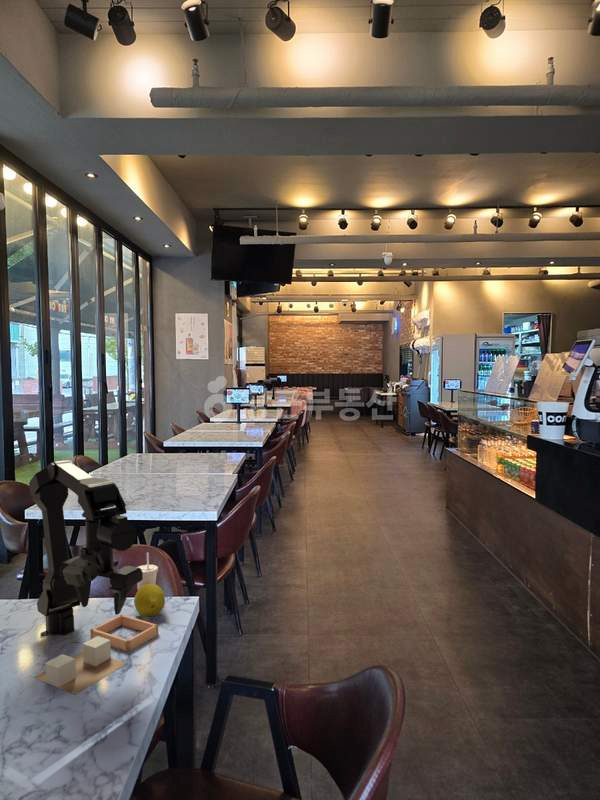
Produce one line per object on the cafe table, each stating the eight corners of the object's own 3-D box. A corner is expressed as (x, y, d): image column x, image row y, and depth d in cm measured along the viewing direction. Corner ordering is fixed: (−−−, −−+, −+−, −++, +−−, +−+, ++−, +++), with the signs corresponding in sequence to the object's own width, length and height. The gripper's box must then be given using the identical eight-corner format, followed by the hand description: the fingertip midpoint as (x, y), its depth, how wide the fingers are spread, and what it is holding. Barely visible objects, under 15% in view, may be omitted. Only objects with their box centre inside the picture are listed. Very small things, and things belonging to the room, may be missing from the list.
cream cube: (83, 661, 117) (82, 643, 117) (98, 653, 121) (97, 635, 121) (95, 666, 115) (95, 648, 115) (110, 657, 119) (110, 639, 119)
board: (33, 681, 111) (33, 677, 111) (86, 653, 123) (86, 649, 123) (75, 699, 105) (75, 694, 105) (127, 668, 116) (126, 663, 116)
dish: (90, 643, 128) (90, 629, 128) (121, 626, 136) (121, 614, 136) (128, 655, 122) (127, 641, 121) (158, 638, 130) (158, 624, 130)
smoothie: (151, 608, 146) (150, 557, 146) (130, 606, 148) (129, 555, 147) (162, 599, 153) (161, 549, 152) (141, 597, 154) (141, 548, 154)
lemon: (136, 608, 147) (135, 579, 146) (165, 605, 148) (165, 577, 148) (132, 626, 136) (131, 595, 136) (164, 623, 138) (163, 592, 137)
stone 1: (45, 682, 109) (45, 663, 109) (63, 672, 113) (62, 654, 113) (58, 687, 107) (58, 668, 107) (75, 677, 111) (75, 658, 111)
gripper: (37, 545, 113) (39, 617, 114) (106, 558, 106) (107, 635, 107) (78, 530, 124) (79, 597, 124) (143, 541, 116) (144, 612, 117)
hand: (101, 610), depth 118 cm, fingers open, 9 cm apart
